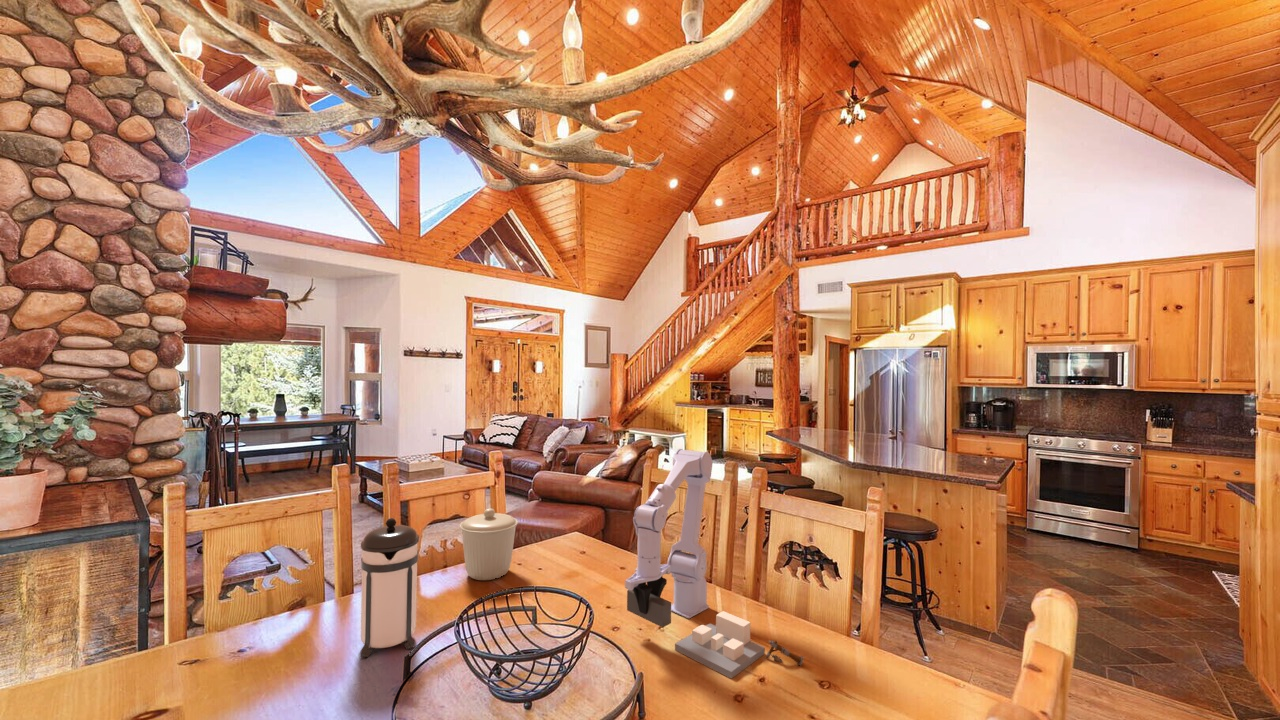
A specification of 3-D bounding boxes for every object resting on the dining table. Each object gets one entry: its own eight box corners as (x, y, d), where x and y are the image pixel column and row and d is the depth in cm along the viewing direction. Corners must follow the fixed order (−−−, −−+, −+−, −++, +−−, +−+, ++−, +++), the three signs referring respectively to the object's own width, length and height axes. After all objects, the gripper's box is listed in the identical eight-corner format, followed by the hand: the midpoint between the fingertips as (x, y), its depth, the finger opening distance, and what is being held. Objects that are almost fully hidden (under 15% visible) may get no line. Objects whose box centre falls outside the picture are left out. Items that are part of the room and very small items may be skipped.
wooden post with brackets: (762, 652, 121) (770, 636, 121) (794, 672, 119) (803, 655, 119) (762, 657, 119) (770, 640, 119) (795, 676, 118) (803, 659, 117)
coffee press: (438, 633, 129) (441, 513, 130) (383, 666, 115) (385, 531, 115) (390, 618, 137) (392, 504, 137) (332, 647, 122) (334, 520, 122)
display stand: (709, 629, 133) (710, 605, 133) (764, 653, 122) (765, 628, 122) (674, 649, 123) (675, 624, 123) (731, 678, 112) (731, 651, 112)
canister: (465, 564, 174) (466, 501, 174) (520, 562, 176) (521, 500, 176) (452, 587, 156) (453, 517, 157) (513, 585, 158) (514, 516, 158)
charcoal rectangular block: (635, 606, 132) (635, 586, 132) (670, 623, 124) (671, 602, 124) (627, 610, 130) (627, 590, 130) (662, 627, 122) (662, 606, 122)
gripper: (656, 543, 135) (656, 595, 135) (616, 557, 125) (615, 614, 124) (677, 550, 130) (676, 604, 130) (637, 566, 120) (636, 624, 120)
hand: (648, 610), depth 127 cm, fingers closed on charcoal rectangular block, 3 cm apart
